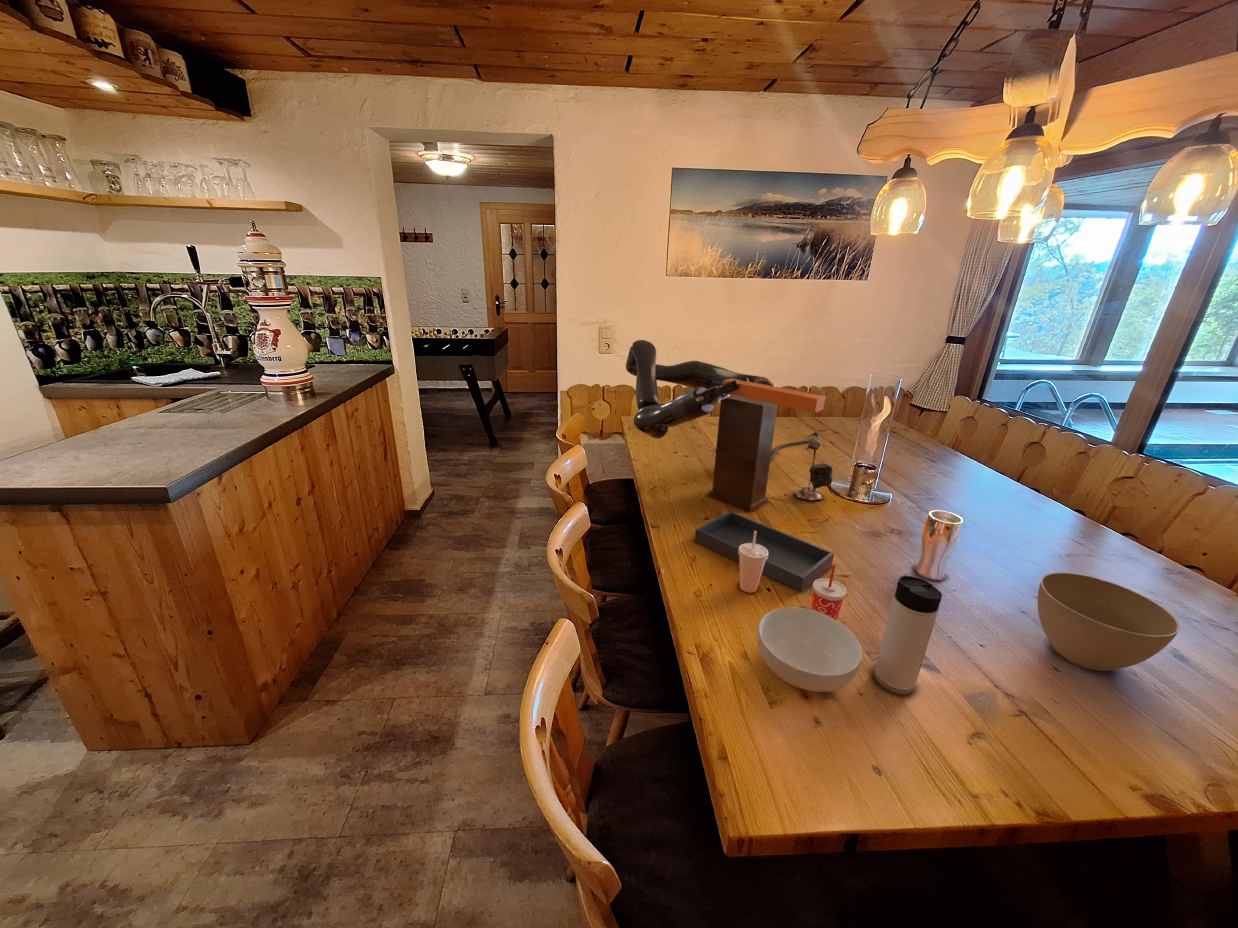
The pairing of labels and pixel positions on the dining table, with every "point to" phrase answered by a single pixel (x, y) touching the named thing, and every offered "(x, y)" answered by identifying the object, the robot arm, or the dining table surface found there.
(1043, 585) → the brown slanted bowl
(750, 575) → the smoothie
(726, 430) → the stand
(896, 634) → the travel mug
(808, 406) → the orange bar
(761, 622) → the cereal bowl
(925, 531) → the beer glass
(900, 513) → the dining table surface
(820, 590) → the beverage cup
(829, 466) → the plant with pod
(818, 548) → the tray
